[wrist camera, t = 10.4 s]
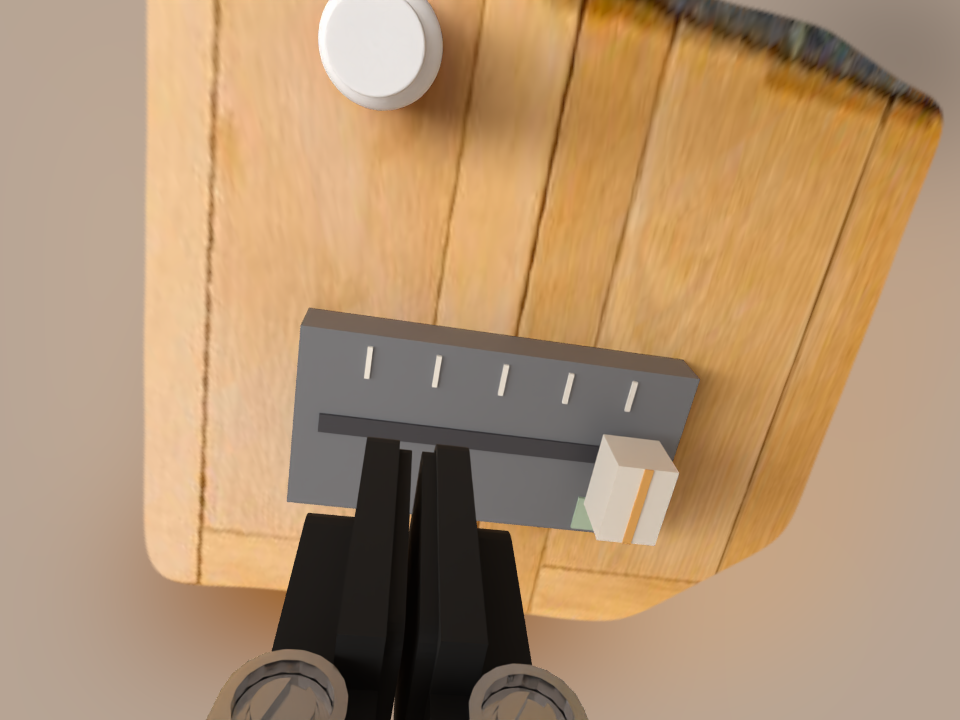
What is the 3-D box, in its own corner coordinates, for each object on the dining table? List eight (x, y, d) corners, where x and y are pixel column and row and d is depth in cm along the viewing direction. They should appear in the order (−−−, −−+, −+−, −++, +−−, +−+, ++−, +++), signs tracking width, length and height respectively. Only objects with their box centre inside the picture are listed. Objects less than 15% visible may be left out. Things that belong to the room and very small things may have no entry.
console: (309, 307, 41) (300, 326, 38) (682, 359, 44) (701, 380, 41) (295, 475, 45) (286, 503, 42) (634, 511, 48) (648, 539, 46)
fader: (597, 421, 41) (619, 467, 37) (651, 428, 42) (680, 473, 37) (578, 490, 43) (597, 541, 38) (630, 495, 44) (655, 546, 39)
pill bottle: (376, -36, 34) (359, -73, 25) (461, 38, 35) (473, 27, 27) (316, 58, 35) (279, 54, 26) (400, 125, 37) (392, 142, 28)
